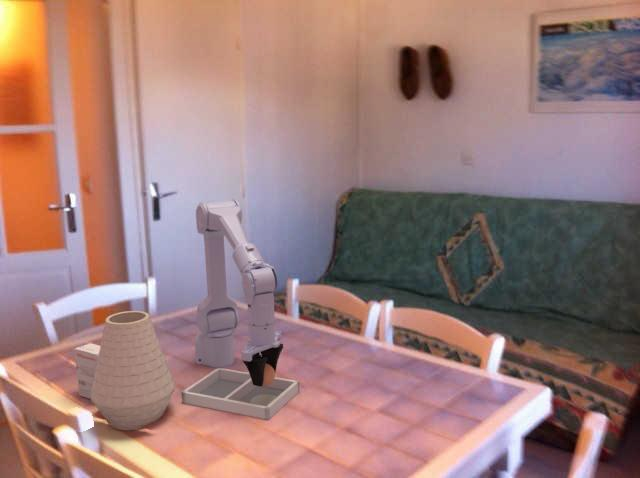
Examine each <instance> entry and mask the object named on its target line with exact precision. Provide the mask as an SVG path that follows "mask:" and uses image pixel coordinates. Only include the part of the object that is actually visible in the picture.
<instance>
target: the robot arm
mask: <svg viewBox="0 0 640 478" xmlns="http://www.w3.org/2000/svg"><path fill="white" fill-rule="evenodd" d="M195 218H196V219H195V220H196V229H197V233H198V234H199V235H200V234H201V235H203V243H204V244H203V245H204V258H205V272H206V274H205V275H206V290H207V292H206V293H207V296H206V297H204V299H203V300H202V301H200V302H199V303H198V304H197V306H196V307H197V311H196V326H197V329H198V333H197V335H196V337H195V340H194V341H195V342H194V348H195V349H194V350H195V363H196V364H197V365H204V366H208V367H211V368H215V369H217V368H226V367H229V366H231V365H233V364H234V363H235V349H234V348H235V347H234V333H236V329H238V327H239V325H240V313H239V311H238V304H237V302H236V300H234V299H233V298H232V297H230V296H229V295H228V289H227V288H228V287H227V272H226V271H227V270H226V255H225V238H226V239H227V241H228V243H229V244H230V246H231V247H232V248H233V252H232V259H233V261H234V263H235V265H236V267H237V270H238V271H239V273H240V275H241V276H242V279H241V286H242V290H243V293H244V300H245V303H246V304H247V317H248V318H247V319H248V323H247V325H248V342H247V343H246V345H245V347H244V349H243V350H242V351H241V361H242V362H243V364H244V365H245V367H246V368H247V370H248V373H249V374H250V377H251V380H252V383H253V385H255V386H262V385H263V381H264V369H265V364H269V365H270V366H272V368H273V369H274V371H275V373H276V371H277V365H278V361H279V358H280V355H281V353H282V350H283V348H284V344H283V343H281V340H282V339H283V338H282V337H283V335H282V331H281V330H276V324H275V323H276V321H275V298H274V293H276V292H277V291H278V287H279V278H278V274H277V271H276V270H275V267H274V266H272V265H270V264H269V263H266V262H265V260H264V259H263V258H262V256H261V253H260V252H259V250H258V248H257V246H256V245H255V244H254V243H252V242H249V241H248V238H247V236H246V232H245V231H244V228H243V225H242V221H243V220H242V219H243V209H242V205H241V203H240V202H239V201H238V199H232V200H220V201H211V202H210V201H209V202H199V203H198V205H197V207H196V209H195Z"/></svg>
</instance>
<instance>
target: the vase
mask: <svg viewBox="0 0 640 478" xmlns="http://www.w3.org/2000/svg"><path fill="white" fill-rule="evenodd" d="M99 346H100V350H99V355H98V360H97V365H96V370H95V375H94V380H93V385H92V390H91V399H90V400H91V402H92V404H93V405H94V407H95V408H96V409H97V410H98V411H99V413H100V414H101V415H102V417H103V418H104V419H105V421H107V423H108V424H109V426H110V427H111V428H113V429H114V430H118V431H123V432H127V431H128V432H130V431H131V432H132V431H139V430H143V429H145V427H143V426H147V425H150V424H152V423H154V422H156V421H158V420H159V419H160V418H161V417H162V416H163V415H164V413H165V411H166V409H167V406H168V405H169V403H170V400H171V399H172V397H173V394H174V392H175V389H176V382H175V380H174V377H173V375H172V372H171V369H170V367H169V366H170V365H169V364H168V361H167V359H166V356H165V353H164V351H163V348H162V346H161V343H160V340H159V338H158V335H157V332H156V330H155V327H154V325H153V322H152V320H151V317H150V314H149V313H147V312H146V311H143V310H128V311H127V310H126V311H121V312H115V313H113V314H111V315H109V316H107V317H106V318H105V321H104V326H103V332H102V337H101V341H100V345H99Z"/></svg>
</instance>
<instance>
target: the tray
mask: <svg viewBox="0 0 640 478" xmlns="http://www.w3.org/2000/svg"><path fill="white" fill-rule="evenodd" d="M299 393H300V381H299V380H295V379H288V378H284V377H283V378H282V377H277V376H275V378H274V380H273V382H272V383H271V384H270V385H268V386H255V385H253V383H252V380H251V377H250V374H249V372H247V371H246V372H245V371H239V370H234V369H227V368H224V367H219V368H215V369H213V371H211V372H209V373H208V374H206V375H205V376H204V377H202V378H201V379H199V380H197V381H196V382H195V383H193V384H192V385H190V386H188V387H187V388H185V389H184V390H183V391H181V404H187V405H192V406H197V407H201V408H206V409H210V410H211V409H212V410H217V411H221V412H225V413H226V412H227V413H232V414H237V415H241V416H247V417H251V418H252V417H253V418H256V419H257V418H258V419H262V420H266V421H269V420H270V419H271V418H273V417H274V416H275V414H277V413H278V412H279V411H280V410H281V409H282V408H284V406H285V405H286V404H288V403H289V402H290V401H291V400H292V399H293V398H294V397H295V396H297V394H299ZM262 394H271V395H275V396H277V398H276V399H275V400H273V401H272V402H271V403H270V404H269V405H268V406H261V405H256V404H251V402H250V401H251V399H252V398H253V397H255V396H258V395H262Z"/></svg>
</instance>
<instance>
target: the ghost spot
mask: <svg viewBox="0 0 640 478" xmlns="http://www.w3.org/2000/svg"><path fill="white" fill-rule="evenodd" d="M276 398H277V396H275V395H271V394H262V395H258V396H255V397H253V398H252V399H251V401H250V402H251V404H256V405H261V406H268V405H269V404H270V403H271V402H272V401H273V400H275V399H276Z"/></svg>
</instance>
